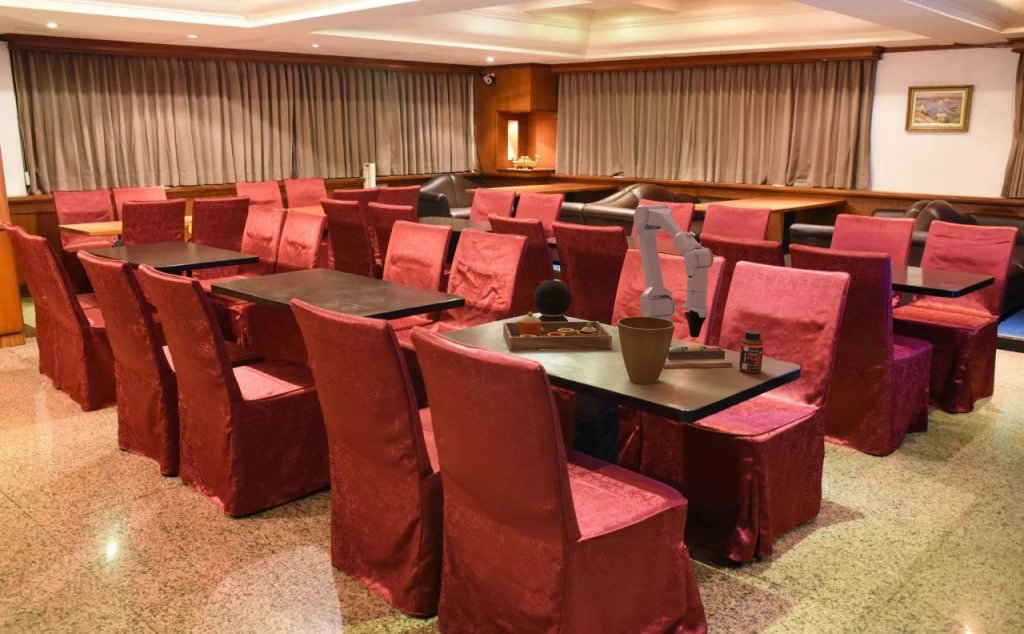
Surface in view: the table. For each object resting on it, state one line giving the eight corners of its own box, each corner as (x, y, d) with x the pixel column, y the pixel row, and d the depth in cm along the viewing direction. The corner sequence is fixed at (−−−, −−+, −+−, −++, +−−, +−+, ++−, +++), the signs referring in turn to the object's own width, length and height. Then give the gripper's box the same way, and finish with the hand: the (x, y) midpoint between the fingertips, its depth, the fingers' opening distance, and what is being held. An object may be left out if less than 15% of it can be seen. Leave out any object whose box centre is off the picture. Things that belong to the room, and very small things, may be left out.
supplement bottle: (746, 374, 230) (748, 334, 228) (735, 369, 236) (737, 330, 234) (765, 373, 232) (768, 333, 230) (753, 367, 238) (756, 328, 235)
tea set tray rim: (503, 334, 276) (503, 322, 276) (597, 332, 279) (598, 321, 279) (509, 350, 255) (509, 337, 255) (611, 348, 258) (611, 336, 258)
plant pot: (604, 380, 224) (606, 321, 221) (638, 370, 235) (640, 314, 231) (649, 392, 214) (652, 330, 211) (683, 380, 224) (686, 322, 221)
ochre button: (685, 354, 246) (686, 346, 245) (697, 354, 246) (698, 346, 246) (689, 357, 242) (689, 349, 242) (701, 357, 243) (701, 349, 242)
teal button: (667, 354, 245) (667, 346, 245) (679, 354, 246) (679, 346, 245) (670, 358, 242) (671, 349, 241) (682, 357, 242) (683, 349, 242)
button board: (650, 355, 250) (650, 343, 250) (715, 354, 252) (716, 342, 251) (662, 368, 237) (663, 355, 236) (731, 366, 239) (732, 354, 238)
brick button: (703, 354, 246) (704, 345, 246) (715, 353, 247) (716, 345, 246) (707, 357, 243) (708, 348, 242) (720, 357, 243) (720, 348, 243)
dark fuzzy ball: (533, 318, 302) (534, 277, 299) (570, 319, 301) (571, 277, 298) (533, 326, 289) (533, 283, 286) (571, 327, 288) (572, 283, 285)
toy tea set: (516, 350, 256) (516, 320, 254) (510, 339, 271) (510, 309, 269) (600, 349, 259) (601, 318, 257) (589, 337, 274) (590, 308, 272)
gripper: (676, 286, 247) (673, 331, 250) (691, 295, 233) (688, 343, 236) (699, 286, 248) (696, 331, 250) (715, 295, 233) (712, 342, 236)
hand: (694, 336), depth 243 cm, fingers closed
